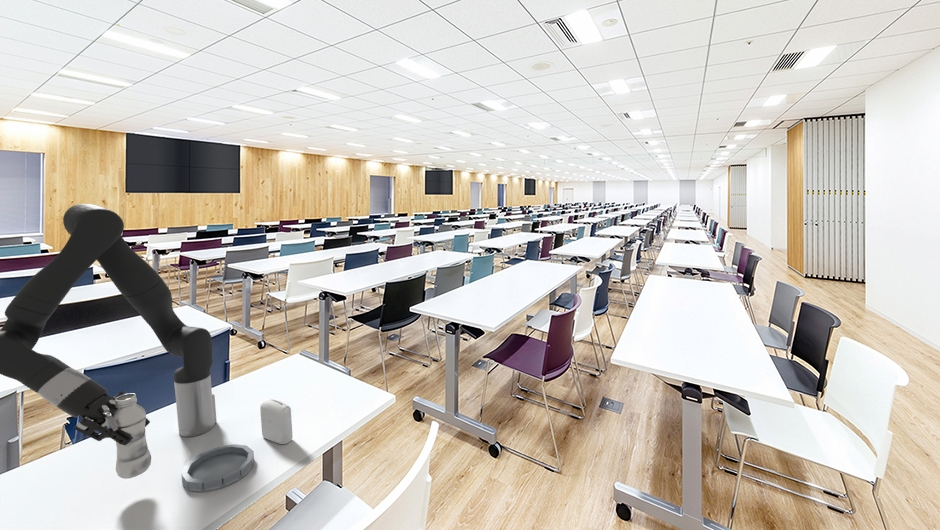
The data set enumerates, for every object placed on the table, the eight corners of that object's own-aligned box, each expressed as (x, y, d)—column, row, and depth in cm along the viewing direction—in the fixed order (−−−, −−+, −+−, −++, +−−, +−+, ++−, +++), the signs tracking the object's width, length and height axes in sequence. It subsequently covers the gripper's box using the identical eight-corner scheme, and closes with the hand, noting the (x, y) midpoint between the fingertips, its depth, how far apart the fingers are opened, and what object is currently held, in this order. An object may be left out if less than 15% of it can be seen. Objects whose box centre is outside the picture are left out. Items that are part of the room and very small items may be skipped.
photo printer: (259, 437, 119) (257, 399, 117) (272, 430, 123) (270, 393, 121) (282, 447, 114) (280, 407, 113) (294, 439, 118) (293, 401, 117)
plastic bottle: (109, 480, 92) (98, 402, 89) (138, 462, 99) (128, 389, 96) (132, 484, 91) (121, 405, 88) (159, 465, 98) (150, 391, 95)
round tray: (215, 450, 112) (214, 442, 112) (266, 455, 111) (266, 447, 110) (166, 488, 97) (165, 479, 96) (224, 495, 95) (224, 486, 94)
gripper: (60, 395, 83) (131, 439, 87) (106, 367, 97) (166, 407, 101) (34, 420, 82) (106, 464, 87) (84, 389, 96) (144, 428, 101)
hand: (138, 433), depth 94 cm, fingers closed on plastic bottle, 6 cm apart
